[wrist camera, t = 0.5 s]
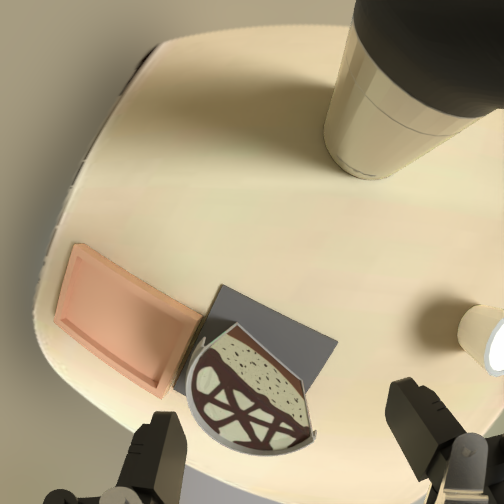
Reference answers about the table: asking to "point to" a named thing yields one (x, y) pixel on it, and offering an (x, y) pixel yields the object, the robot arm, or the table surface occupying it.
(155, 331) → the dish
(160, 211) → the table surface
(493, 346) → the white cup
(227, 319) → the mat
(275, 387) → the food container
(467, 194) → the table surface
